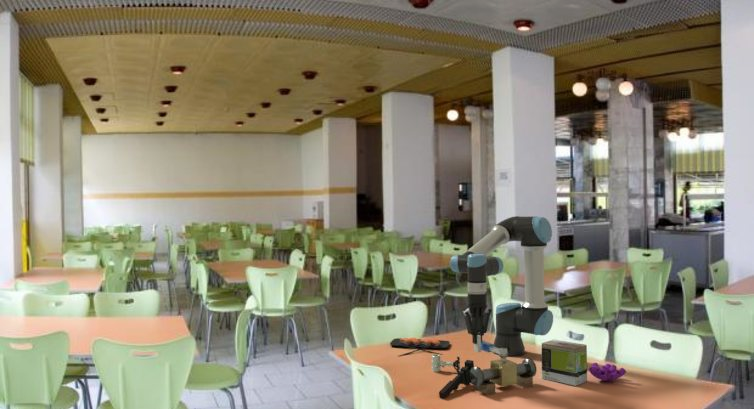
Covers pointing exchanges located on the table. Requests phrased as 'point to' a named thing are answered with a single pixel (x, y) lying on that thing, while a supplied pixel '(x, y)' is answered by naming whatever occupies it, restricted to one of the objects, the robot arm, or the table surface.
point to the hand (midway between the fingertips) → (477, 351)
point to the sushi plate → (420, 344)
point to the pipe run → (503, 375)
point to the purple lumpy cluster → (606, 372)
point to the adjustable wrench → (458, 380)
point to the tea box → (564, 362)
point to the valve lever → (493, 349)
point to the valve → (443, 363)
